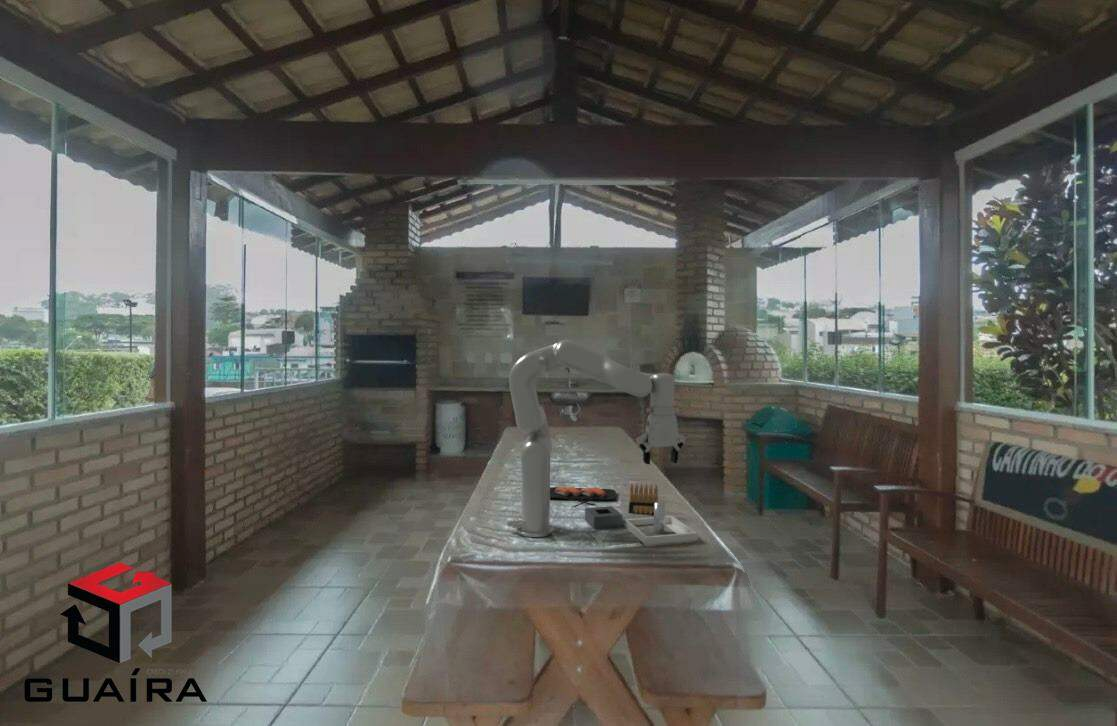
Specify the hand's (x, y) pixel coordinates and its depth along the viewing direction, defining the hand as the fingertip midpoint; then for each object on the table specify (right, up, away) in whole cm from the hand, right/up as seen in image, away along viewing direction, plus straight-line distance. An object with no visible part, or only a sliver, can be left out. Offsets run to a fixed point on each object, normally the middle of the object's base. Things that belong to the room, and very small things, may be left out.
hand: (660, 462), depth 191 cm
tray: (0, -24, +1) cm, 24 cm away
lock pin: (0, -23, +1) cm, 23 cm away
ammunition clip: (-3, -23, +21) cm, 32 cm away
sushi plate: (-25, -23, +38) cm, 51 cm away
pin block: (-18, -23, +10) cm, 31 cm away
